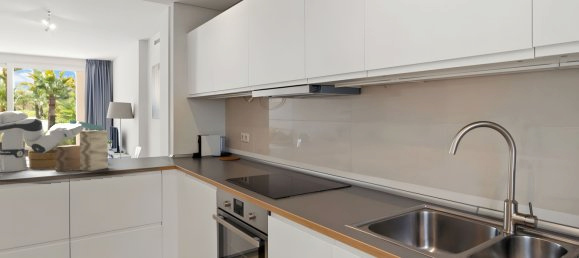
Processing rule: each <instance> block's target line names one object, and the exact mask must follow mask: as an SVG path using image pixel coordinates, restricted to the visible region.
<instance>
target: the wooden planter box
mask: <svg viewBox="0 0 579 258" xmlns="http://www.w3.org/2000/svg"><path fill="white" fill-rule="evenodd" d="M27 154H28V156H27V157H28V158H27V159H28V162H29V165H28V169H35V170H42V169H47V168H48V169H56V157H55V149H51V150H49V151H47V152H45V153H37V152H35V151H28V153H27ZM48 169H47V170H48Z"/></svg>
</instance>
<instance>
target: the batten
mask: <svg viewBox="0 0 579 258" xmlns="http://www.w3.org/2000/svg"><path fill="white" fill-rule="evenodd" d="M77 121H79V120H74V119H71V120H70V119H69V123H70V124H76V123H75V122H77ZM79 122H80V124H82V126H83V129H84V128H85V129H88V130H89V129H90V130H104V126H103V125H99V124H93V123H88V122H84V121H79Z"/></svg>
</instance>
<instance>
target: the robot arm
mask: <svg viewBox="0 0 579 258" xmlns="http://www.w3.org/2000/svg"><path fill="white" fill-rule="evenodd" d="M76 121H77V122H75V123H76V124H70V122H67V123H55V124H54V125H52V126H51V127H50V128H49V130H48V131H47V132H45V131H44V128H43V121H42V120H41V119H39V118H37V117H34V116H29V115H28V114H27V113H25V112H22V111H19V110H8V111H7V110H5V111H1V112H0V135H2V134H3V135H2V137H1V149H0V173H8V172H21V171H25V170H28V169H29V166H28V165H27V157H26V155H25V154H26V151H25V147H24V146H25V145H24V141H25V144H26V145H27V146H28V147H31V150H33V151H35V152H37V153H45V152H47V151H49V150H53V148H55V146H57V145H58V144H60V143H62V142H65V141H66V140H72V139H74V138H75V136H77V135H80V132H81V131H84V128H83V126H82V124H80V122H81V121H80V122H79V120H76Z"/></svg>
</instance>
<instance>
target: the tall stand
mask: <svg viewBox="0 0 579 258" xmlns="http://www.w3.org/2000/svg"><path fill="white" fill-rule="evenodd" d="M79 145H80V169H79V170H80V171H97V170H103V169H108V167H109V164H108V163H109V159H108V158H109V157H108V155H109V153H108V149H109V148H108V130H104V129H103V130H94V129H92V130H82V131H81V132H80V133H79Z"/></svg>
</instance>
